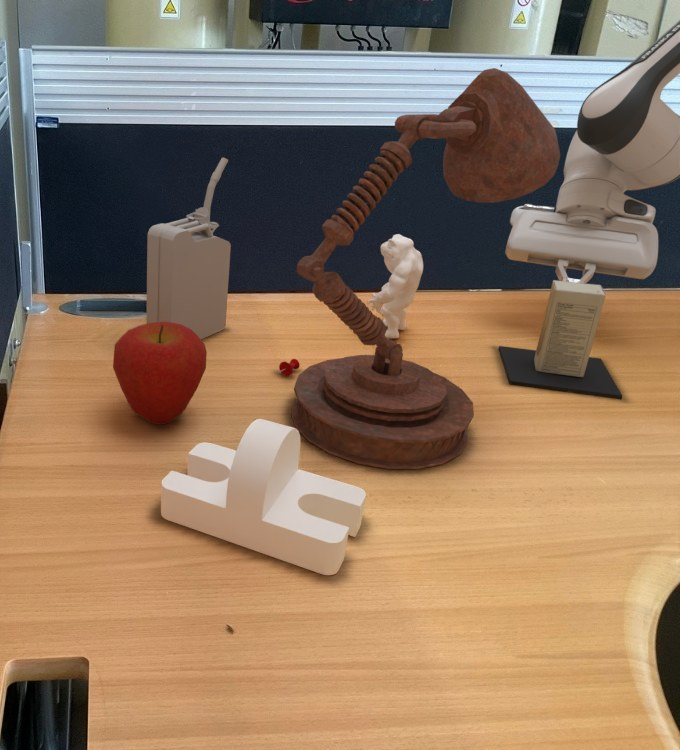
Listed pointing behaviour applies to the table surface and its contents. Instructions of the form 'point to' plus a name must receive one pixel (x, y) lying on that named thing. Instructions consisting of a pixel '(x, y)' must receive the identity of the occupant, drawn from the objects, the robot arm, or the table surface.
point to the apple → (159, 369)
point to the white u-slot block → (265, 499)
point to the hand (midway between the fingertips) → (570, 292)
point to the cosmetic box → (569, 328)
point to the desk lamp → (386, 368)
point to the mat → (557, 375)
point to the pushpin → (288, 367)
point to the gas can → (189, 270)
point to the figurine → (398, 283)
